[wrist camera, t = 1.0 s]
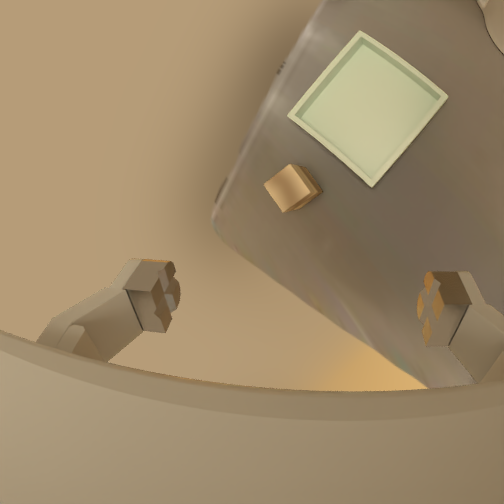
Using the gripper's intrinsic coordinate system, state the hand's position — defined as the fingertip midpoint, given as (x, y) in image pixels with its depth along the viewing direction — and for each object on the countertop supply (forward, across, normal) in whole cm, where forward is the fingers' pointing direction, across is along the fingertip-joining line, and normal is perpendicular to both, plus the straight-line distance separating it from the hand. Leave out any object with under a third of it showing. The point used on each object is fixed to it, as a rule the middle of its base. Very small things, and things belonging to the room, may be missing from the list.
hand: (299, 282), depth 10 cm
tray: (+40, -9, +1) cm, 41 cm away
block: (+38, +1, +13) cm, 40 cm away
